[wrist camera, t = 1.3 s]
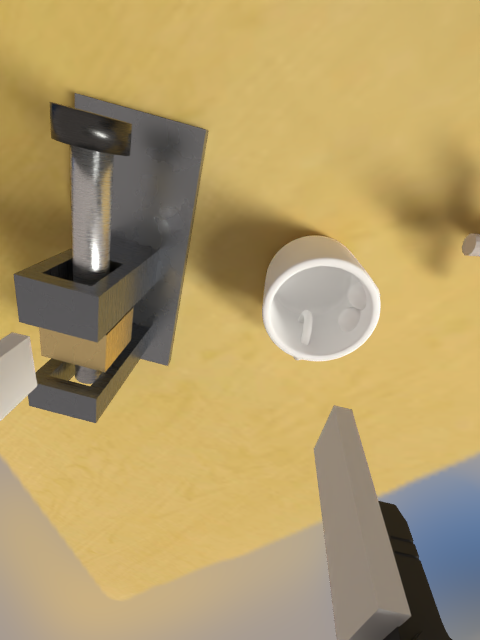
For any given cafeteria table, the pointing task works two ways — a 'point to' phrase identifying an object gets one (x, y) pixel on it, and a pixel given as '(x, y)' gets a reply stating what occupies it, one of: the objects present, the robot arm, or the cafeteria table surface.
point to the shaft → (90, 191)
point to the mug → (318, 300)
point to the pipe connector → (471, 245)
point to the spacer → (88, 345)
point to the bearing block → (122, 263)
